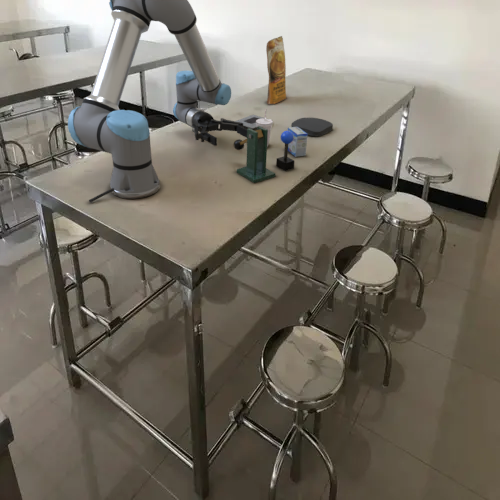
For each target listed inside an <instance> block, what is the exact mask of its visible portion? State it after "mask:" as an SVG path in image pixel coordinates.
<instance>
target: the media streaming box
mask: <svg viewBox="0 0 500 500" xmlns="http://www.w3.org/2000/svg"><path fill="white" fill-rule="evenodd" d="M290 127H299V128H300V129H302V130H303V131H304V132H306V133H307V134H308V136H310V137H321V136H324V135H326V134H328V133H330V132H331V131H333V128H334V124H333V123H332V122H331V121H328V120H326V119H323V118H319V117H300V118H297V119H295V120H294V121H292V123H291V126H290Z"/></svg>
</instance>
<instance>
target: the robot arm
mask: <svg viewBox="0 0 500 500" xmlns="http://www.w3.org/2000/svg"><path fill="white" fill-rule="evenodd" d="M108 5H109V8H110V10H111V13H110V15H111V17H112V19H113V23H112V28H111V30H110V33H109V36H108V39H107V43H106V45H105V49H104V51H103V54H102V58H101V61H100V65H99V67H98V71H97V74H96V76H95V79H94V83H93V86H92V88H91V93H90V94H89V95H88V96H86V97H83V100H82V103H81V105H80V106H77V107H75V108H74V109H72V110H71V111H70V112H69V115H68V118H67V129H68V132H69V134H70V137H71V139H72V140H73V141H74V142H75V143H76V144H78V145H80V146H83V147H85V148H87V149H93V150H97V151H100V152H104V153H107V154H110V155H111V158H112V160H111V161H112V167H113V168H112V172H111V176H110V182H109V189H108V190H106V191H104V192H101V193H100V194H98V195H96V196H94V197H92V198H91V199H89V200H88V202H89V203H92V202H94V201H96V200H98V199H100V198H102V197H103V196H106V195H108V194H110V193H111V194H112V195H114V196H115V197H118V198H122V199H127V200H128V199H129V200H134V199H135V200H136V199H143V198H147V197H150V196H152V195H154V194H156V193H158V191H159V190H160V188H161V184H160V183H161V182H160V181H161V180H160V178H159V176H158V173H157V172H156V170H155V168H154V165H153V159H152V147H151V131H150V128H149V121H148V119H147V118H146V117H145V115H143V114H142V113H140V112H138V111H135V110H130V109H127V110H125V109H120V108H119V105H120V102H121V98H122V95H123V92H124V89H125V85H126V82H127V80H128V77H129V74H130V70H131V67H132V64H133V61H134V58H135V55H136V52H137V50H138V49H137V48H138V46H139V43H140V40H141V37H142V35H143V34H144V33H146V32H148V31H149V28H150V26H151V22H159V23H162V24H163V25H164V26H166V28H167V31H168V32H169V33H170V34H171V35H174V37H175V39H176V41H177V43H178V45H179V47H180V49H181V51H182V54H183V55H184V58H185V59H186V61H187V63H188V66H189V67H190V70H180V71H178V72H176V75H175V91H176V103H175V104H174V106H173V108H172V113H173V116H174V117H175V118H176V119H177V120H178V121H179V122H180V123H183V124H185V125H188V126H189V127H190V128H191V132H192V133H193V134H194V138H195V141H199V140H200V142H201V143H204V142H207V143H209V144H211V145H213V146H214V147H217V146H218V138H217V136H214V135H212V134H211V133H209V132H216V131H218V132H222V131H229V132H236V133H237V134H238V135H240V136H242V137H243V138H245V139H247V129H248V128H244V127H243V123H241V122H236V121H237V120H231V119H225V118H224V117H221V118H220V120H217V119H214V117H213V116H212V114H211V113H209V112H207V111H205V110H203V109H201V108H198V105H197V102H203V103H209V104H213V105H216V106H217V105H220V106H226V105H228V104H229V103H230V100H231V99H232V88H231V86H230V85H229V84H226V83H223V82H221V78H220V77H219V75H218V73H217V70H216V68H215V65H214V62H213V61H212V58H211V56H210V53H209V52H208V49H207V47H206V44H205V42H204V41H203V38H202V35H201V33H200V30H199V28H198V26H197V21H198V17H197V15H196V13H195V11H194V9H193V7H192V5H191V3H190V1H189V0H109V2H108Z"/></svg>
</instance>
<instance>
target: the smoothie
mask: <svg viewBox="0 0 500 500" xmlns="http://www.w3.org/2000/svg"><path fill="white" fill-rule="evenodd" d="M267 112H268V111H267V108H264V117H263V118H262V119H257V120H256V125H257V126H261V127H263V128H265V129H267V130H268V137H267V148H268V147H269V144H270V143H269V142H270V139H271V138H270V137H271V131H272V127H273V124H274V121H273V119H270V118H267ZM266 118H267V119H266Z"/></svg>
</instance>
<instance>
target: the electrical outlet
mask: <svg viewBox="0 0 500 500" xmlns="http://www.w3.org/2000/svg"><path fill="white" fill-rule="evenodd" d="M262 118H264V117H263V116H260V115H256V114H251V115H248V116H244V117H241V118H240V119H238V120H235V121H236V122H241V123H243V127H244V128H245V129H249V128H250V129H252V130H255V129H257V125H256V120H257V119H262ZM266 119H268V118H267V117H266Z"/></svg>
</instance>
